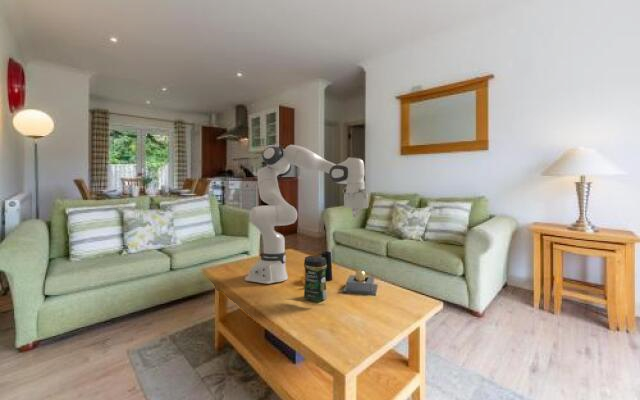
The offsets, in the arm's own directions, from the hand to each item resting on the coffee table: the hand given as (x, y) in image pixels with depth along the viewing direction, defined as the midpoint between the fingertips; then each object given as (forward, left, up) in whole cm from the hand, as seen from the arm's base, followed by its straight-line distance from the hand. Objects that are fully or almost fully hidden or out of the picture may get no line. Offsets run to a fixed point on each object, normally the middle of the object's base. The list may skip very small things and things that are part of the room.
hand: (355, 217), depth 143 cm
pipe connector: (-18, +1, -34) cm, 39 cm away
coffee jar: (-15, -23, -34) cm, 44 cm away
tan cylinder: (+3, -7, -33) cm, 34 cm away
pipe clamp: (-23, -6, -34) cm, 42 cm away
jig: (+3, -6, -34) cm, 35 cm away
